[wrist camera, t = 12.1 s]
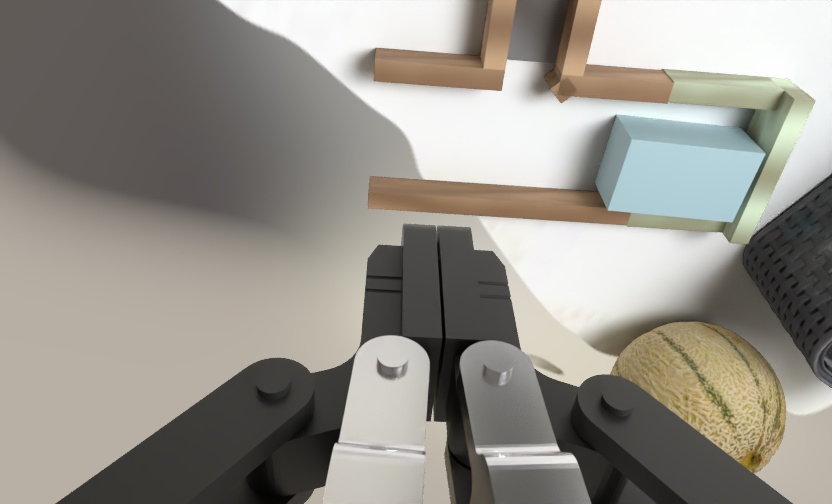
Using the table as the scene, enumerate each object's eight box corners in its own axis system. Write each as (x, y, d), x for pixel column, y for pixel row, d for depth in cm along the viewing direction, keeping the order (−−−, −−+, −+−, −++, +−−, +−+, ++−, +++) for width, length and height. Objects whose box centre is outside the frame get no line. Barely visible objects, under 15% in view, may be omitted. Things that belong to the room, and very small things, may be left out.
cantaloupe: (560, 357, 65) (595, 490, 53) (676, 263, 58) (746, 391, 46) (657, 415, 70) (710, 547, 58) (774, 335, 63) (860, 467, 51)
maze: (382, -85, 41) (380, -73, 38) (841, -43, 43) (876, -29, 40) (369, 193, 53) (366, 219, 50) (728, 216, 55) (747, 244, 52)
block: (615, 113, 50) (631, 139, 46) (739, 126, 51) (765, 153, 47) (594, 180, 53) (607, 210, 50) (710, 192, 54) (732, 222, 50)
